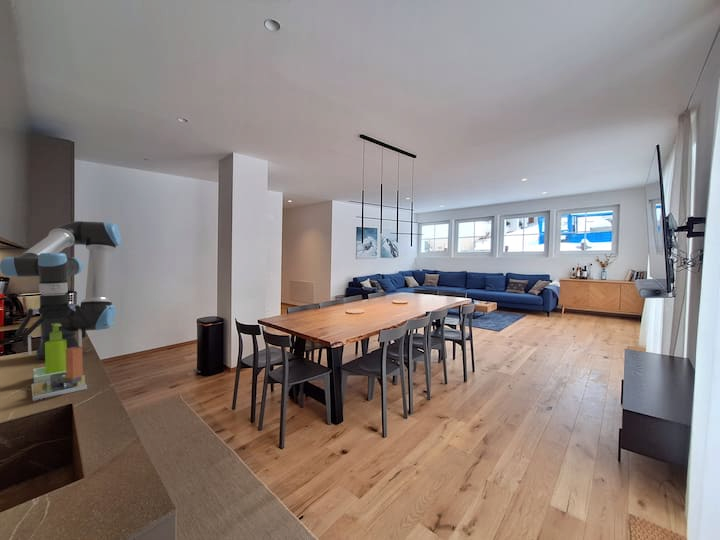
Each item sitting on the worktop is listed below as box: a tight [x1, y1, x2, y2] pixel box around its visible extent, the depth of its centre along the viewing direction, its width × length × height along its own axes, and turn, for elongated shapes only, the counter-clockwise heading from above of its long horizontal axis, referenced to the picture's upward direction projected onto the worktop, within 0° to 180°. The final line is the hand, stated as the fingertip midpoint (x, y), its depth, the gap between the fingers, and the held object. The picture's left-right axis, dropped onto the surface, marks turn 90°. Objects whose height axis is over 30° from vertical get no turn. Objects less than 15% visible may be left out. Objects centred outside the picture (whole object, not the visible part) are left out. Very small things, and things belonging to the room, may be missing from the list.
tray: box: [32, 366, 66, 384], centre depth 117 cm, size 12×12×4 cm
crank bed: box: [31, 374, 88, 402], centre depth 107 cm, size 14×13×4 cm
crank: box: [50, 346, 84, 386], centre depth 107 cm, size 11×4×13 cm, turn 78°
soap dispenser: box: [44, 323, 67, 374], centre depth 116 cm, size 6×7×20 cm
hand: (56, 349), depth 117 cm, fingers open, 13 cm apart
